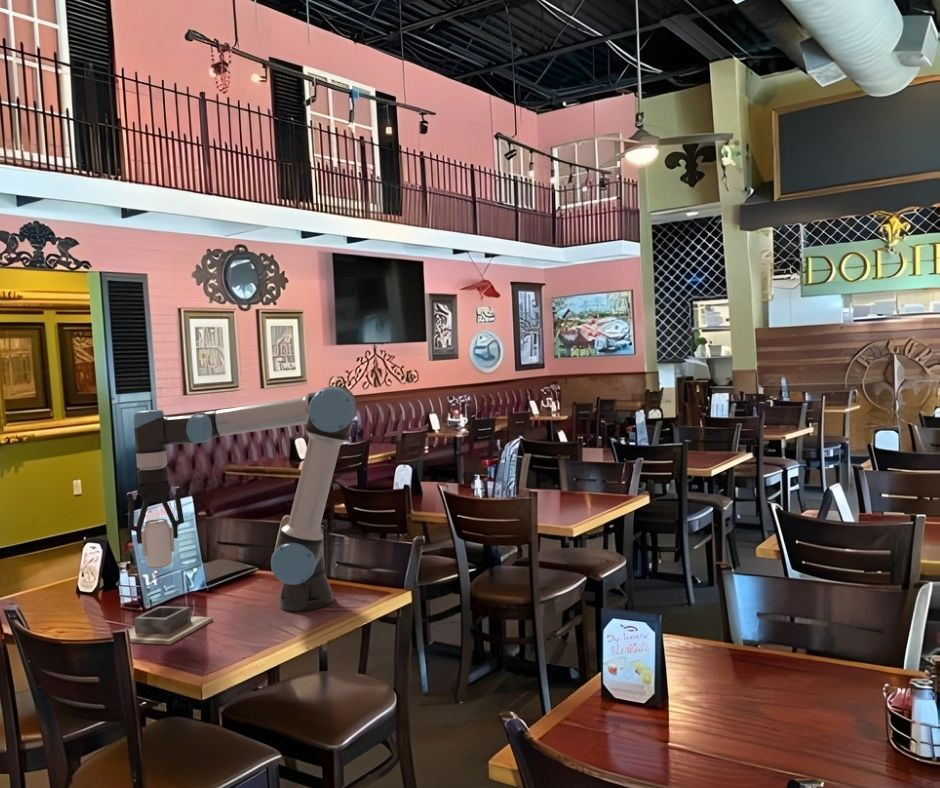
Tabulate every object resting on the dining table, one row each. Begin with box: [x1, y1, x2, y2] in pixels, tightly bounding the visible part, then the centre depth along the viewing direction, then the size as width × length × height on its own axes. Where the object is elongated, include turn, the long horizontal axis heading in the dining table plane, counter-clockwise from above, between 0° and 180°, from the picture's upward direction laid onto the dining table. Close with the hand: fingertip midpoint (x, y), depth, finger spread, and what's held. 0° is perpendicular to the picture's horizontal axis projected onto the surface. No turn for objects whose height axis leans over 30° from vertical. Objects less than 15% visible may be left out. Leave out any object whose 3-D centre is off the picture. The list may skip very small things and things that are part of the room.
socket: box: [127, 605, 214, 645], centre depth 207 cm, size 18×18×5 cm
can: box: [143, 518, 173, 569], centre depth 207 cm, size 6×6×12 cm
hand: (158, 552), depth 207 cm, fingers closed on can, 6 cm apart
